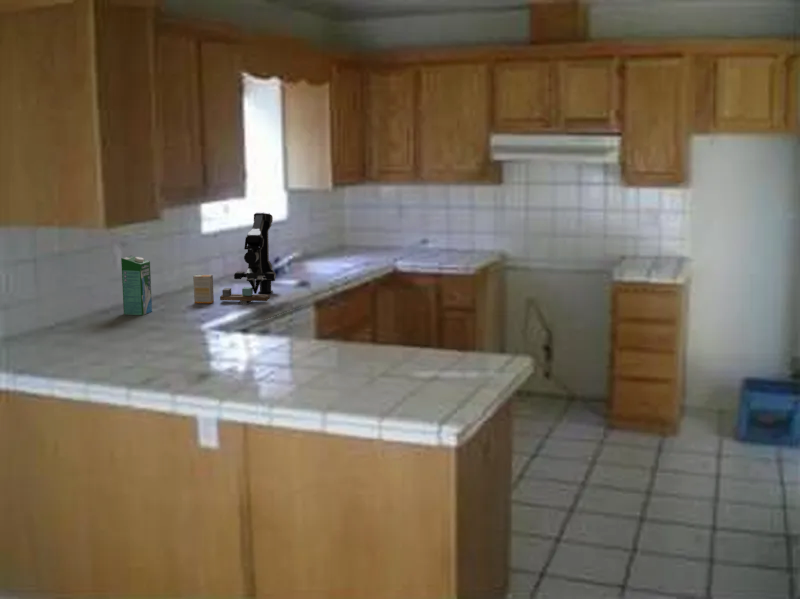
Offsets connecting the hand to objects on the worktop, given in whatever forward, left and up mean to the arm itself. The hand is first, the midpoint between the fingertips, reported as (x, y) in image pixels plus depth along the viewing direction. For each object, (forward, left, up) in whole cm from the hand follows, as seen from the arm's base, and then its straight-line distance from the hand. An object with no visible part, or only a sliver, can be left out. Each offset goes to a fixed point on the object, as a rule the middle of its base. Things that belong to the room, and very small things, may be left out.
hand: (255, 293), depth 432 cm
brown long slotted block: (0, -5, -4) cm, 7 cm away
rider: (0, -4, -3) cm, 4 cm away
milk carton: (+28, -47, -4) cm, 55 cm away
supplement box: (+2, -24, -4) cm, 24 cm away
